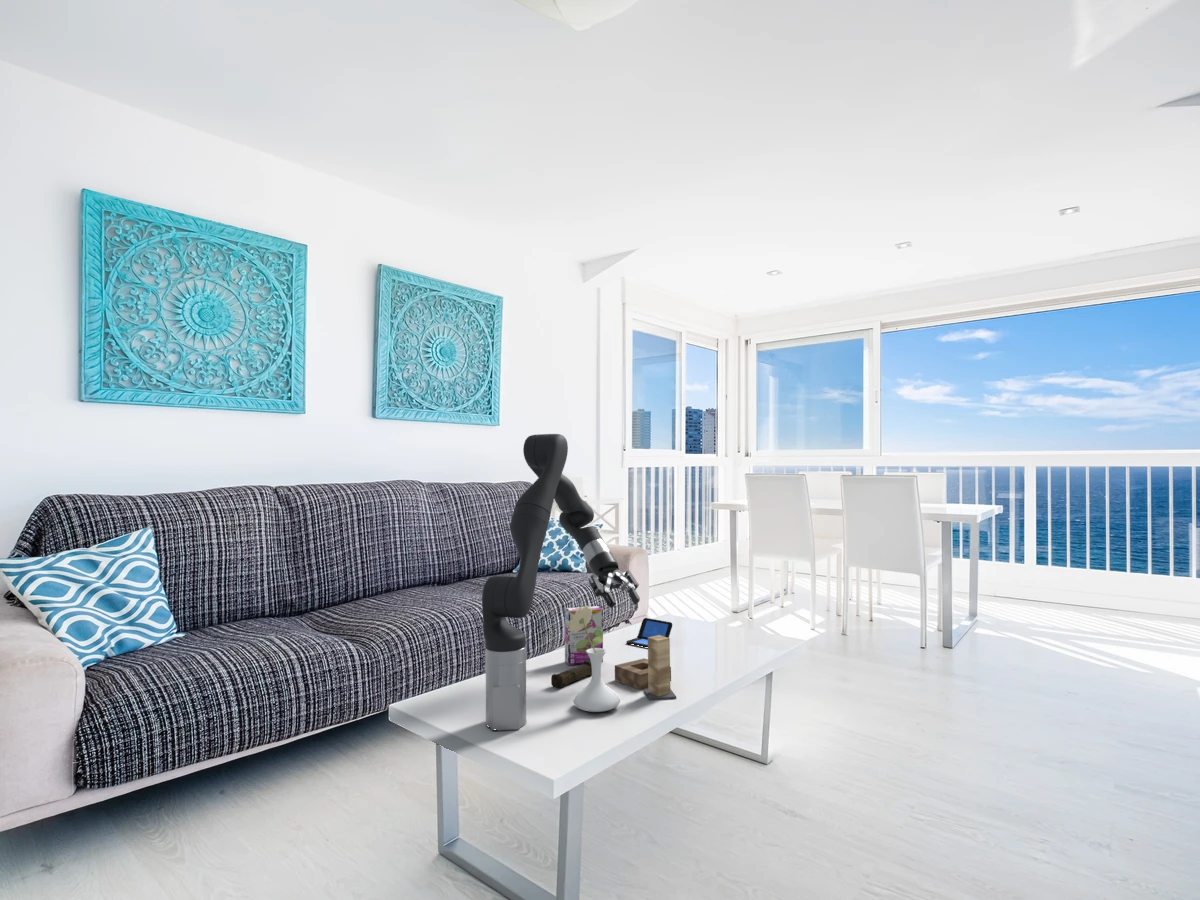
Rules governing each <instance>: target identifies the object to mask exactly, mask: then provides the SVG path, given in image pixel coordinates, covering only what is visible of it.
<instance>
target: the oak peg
mask: <svg viewBox="0 0 1200 900" xmlns="http://www.w3.org/2000/svg"><path fill="white" fill-rule="evenodd" d="M647 659H648V688H647V689H649V693H651V694H654V695H656V696H662V695H666V694H670V693H671V690H672V689H671V682H670V667H671V640H670V637H669V638H668V637H664V636H661V635H658V636H653V637H648V649H647ZM670 689H671V690H670Z"/></svg>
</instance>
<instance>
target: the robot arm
mask: <svg viewBox="0 0 1200 900" xmlns="http://www.w3.org/2000/svg"><path fill="white" fill-rule="evenodd" d="M523 443H524V444H523V448H522V449H523V450H522V452H523V457H524V460H525V462H526V464H527V466H528V467H529V469H531V471H532V472H533V473H534V474H535V475H536V476H537V479H536V480H535V481H534V482H533V483H532V484H531V485H530V486H529V487H528V488H527V489H526V490H525V491H524V492H523V493H522V494H521V496H519V498H518V499H517V501H516V502H515V505H514V509H513V512H512V515H511V520H510V523H509V530H510V534H511V537H512V540H513V542H514V546H515V547H516V550H517V553H518V557H519V568H518V572H517V574H516V576H506V575H505V576H503V575H499V576H497V575H495V576H490V577H488V578H487V580H485V583H484V585H483V588H482V595H481V605H482V606H481V608H482V624H483V625H482V627H483V637H484V642H485V725H486V724H487V725H488V726H489V727H491V728H492V729H491V728H490V729H491V731H492V730H494V729H496V730H498V731H512V730H520V729H521V727H523V726H525V725H526V723H527V637H526V634H525V633H524V632H523V631H522V630H520V629H518V628H516V627H514V626H513V625H511V623H509V621H508V620H507V619H508V618H510V619H514V618H515V619H523V618H525V617H527V615H528V614H529V612H530V610H531V607H532V605H533V600H534V595H535V589H536V583H537V575H538V569H539V564H540V558H541V554H542V550H543V547H544V546H543V545H544V540H545V539H546V538H545V537H546V535H547V531H548V529H549V523H550V518H551V515H552V514H551V513H552V509H553V504H554V502H555V503H556V504H557V507H558V508H559V510H560V511H561V513H560V514H559V516H558V517H559V518H558V520H559V524H560V525H561V528H562V529H564V531H565V532H567V533H568V535H570V536H571V537H572V538H573V539H574V540H575V541H576V542H577V544H578V546H579V548H580V550H581V551H582V553H583V556H584V559H585V561H586V563H587V564H588V567H589V568H590V570H591V572H592V574H591V576H590V577H589V578H588V582H589V585H590V586H591V590H592V591H593V593H594V596H595V597H597V598H598V597H601V598H603V599H604V601H605V603H606V605H607V606H608V607H609V608H610V609H613V608H614V607H615V606H616V600H615V599H614V597H613V595H612V593H611V592H610V590H614V589H619V590H620V591H624V592H626V593H628V596H629V597H630V599H631V601H632V604H634V605H638V603H640V596H639V594H638V592H637V591H636V590H637V589H638V588H639V586H640V584H639V583H638V581H637V579H636V577H635V576H634V575H633V573H632V572H631V571H630V570H629V569H627V570H626V571H625V572H622V571H621V570H620V569H619V563H618V562H617V560H616V558H615V556H614V555H613V553H612V551H611V549H610V548H609V546H608V545H607V543H606V542H605V541H604V538H603V537H602V535H601V534H600V532H599V530H598V529H597V528H596V527H595V526H591V525H590V526H589V524H590V523H592V522H593V521H594V518H595V512H594V510H593V508H592V507H591V505H590V504H589V503H588V502H587V501H585V500H583V498H582V497H581V496H580V494H579V493H578V490H577V487H576V486H575V484H574V483H573V481H571V479H570V478H568V477H567V476H566V475H564V474H563V471H564V468H565V465H566V462H567V457H568V451H569V445H568V441H567V438H566V437H565V436H564V434H559V433H544V434H539V433H537V434H531V435H528V436H527V437H526V438H525V441H524V442H523ZM587 525H588V526H587ZM623 583H624V584H623ZM506 618H507V619H506ZM489 727H488V728H489Z"/></svg>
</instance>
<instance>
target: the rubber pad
mask: <svg viewBox="0 0 1200 900" xmlns="http://www.w3.org/2000/svg"><path fill="white" fill-rule="evenodd" d="M670 690H671V693H670V694H666V695H662V696H656V695H654V694H651V693H649V688H647V689H643V692H644V694H645V696H646V698H647V699H648V700H649V701H658V700H660V699H662V700H672V699H671V698H676V699H677V695H676V694H675V693H674V691H673V690H672V688H670ZM660 701H661V700H660Z"/></svg>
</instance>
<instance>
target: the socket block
mask: <svg viewBox="0 0 1200 900" xmlns="http://www.w3.org/2000/svg"><path fill="white" fill-rule="evenodd" d="M614 681H615V682H619V683H622V684H625V685H627V686H630V687H632V688H634V689H637V690H640V691H644V689H649V688H648V658H641V659H637V660H632V661H626V662H624V663H620V664H615V665H614ZM670 681H671V682H672V666H670Z"/></svg>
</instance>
